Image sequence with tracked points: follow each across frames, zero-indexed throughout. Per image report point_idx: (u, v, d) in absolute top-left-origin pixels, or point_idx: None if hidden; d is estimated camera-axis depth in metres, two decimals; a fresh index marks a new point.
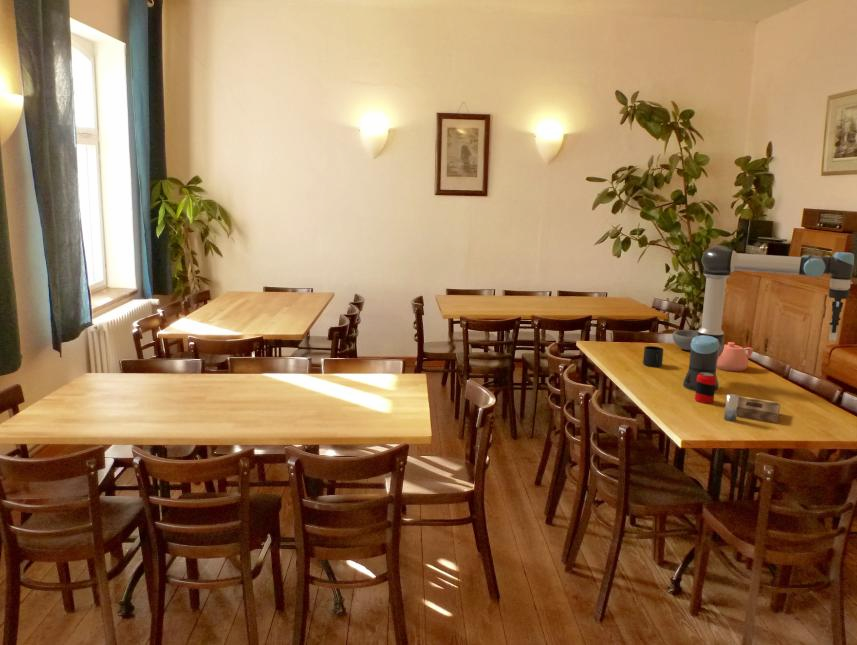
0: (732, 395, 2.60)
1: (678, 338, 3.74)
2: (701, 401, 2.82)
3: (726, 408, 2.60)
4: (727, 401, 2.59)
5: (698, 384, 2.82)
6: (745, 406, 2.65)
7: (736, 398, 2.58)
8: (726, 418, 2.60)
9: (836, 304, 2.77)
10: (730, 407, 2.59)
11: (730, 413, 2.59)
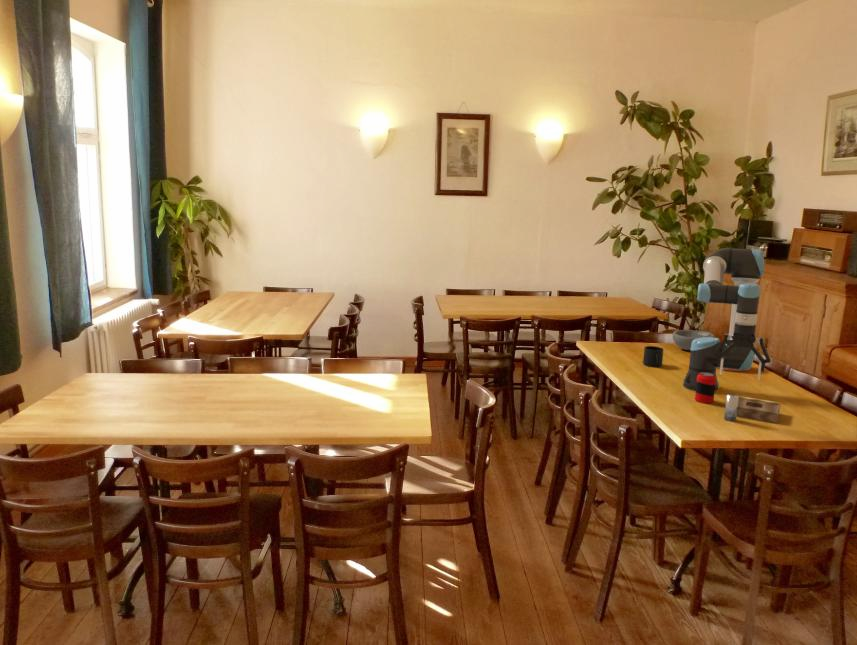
0: (732, 395, 2.60)
1: (678, 338, 3.74)
2: (701, 401, 2.82)
3: (726, 408, 2.60)
4: (727, 401, 2.59)
5: (698, 384, 2.82)
6: (745, 406, 2.65)
7: (736, 398, 2.58)
8: (726, 418, 2.60)
9: (724, 336, 2.60)
10: (730, 407, 2.59)
11: (730, 413, 2.59)
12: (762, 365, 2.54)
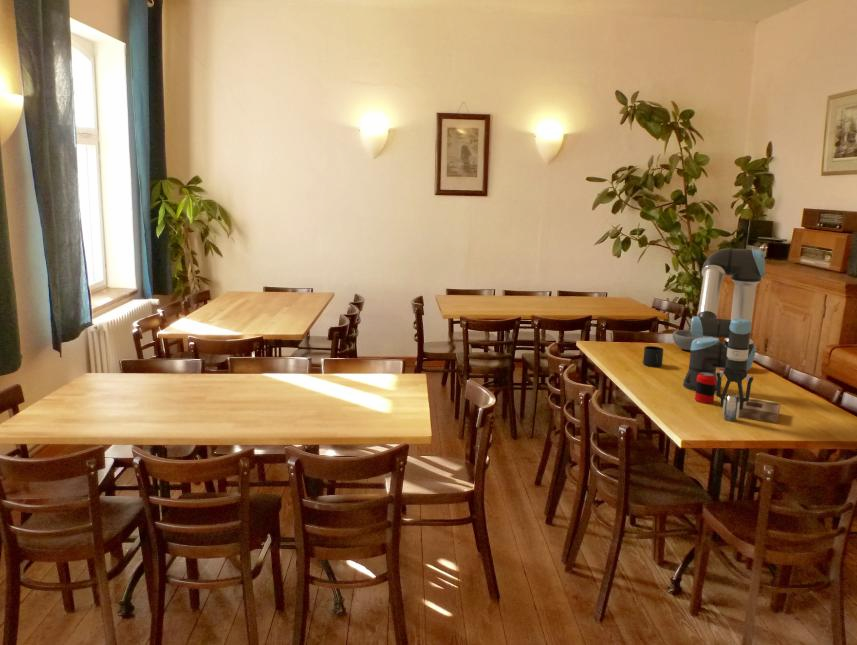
0: (732, 395, 2.60)
1: (678, 338, 3.74)
2: (701, 401, 2.82)
3: (726, 408, 2.60)
4: (727, 401, 2.59)
5: (698, 384, 2.82)
6: (745, 406, 2.65)
7: (736, 398, 2.58)
8: (726, 418, 2.60)
9: None
10: (730, 407, 2.59)
11: (730, 412, 2.59)
12: (740, 403, 2.58)
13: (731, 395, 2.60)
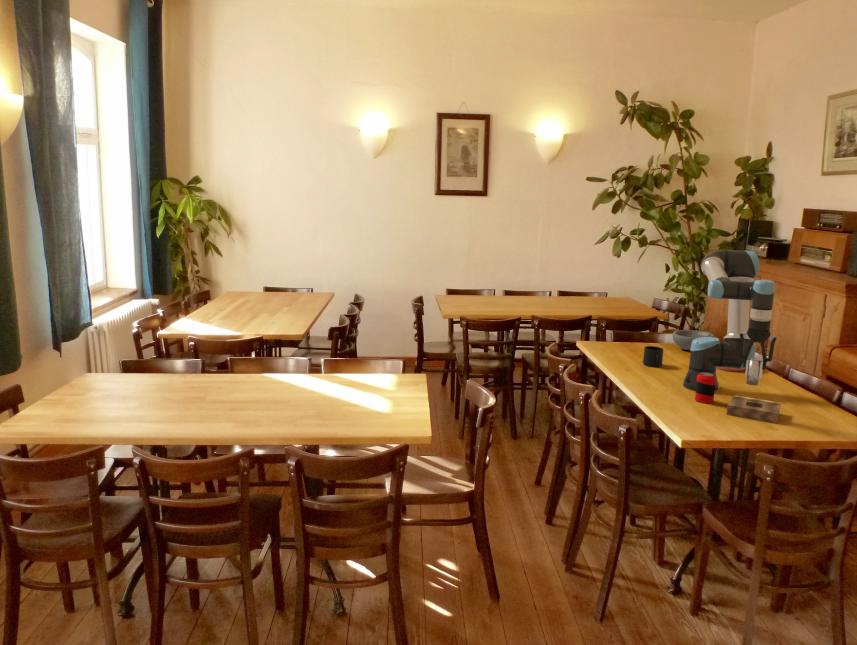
0: (754, 359, 2.63)
1: (678, 338, 3.74)
2: (701, 401, 2.82)
3: (749, 372, 2.64)
4: (749, 365, 2.63)
5: (698, 384, 2.82)
6: (745, 406, 2.65)
7: (759, 362, 2.61)
8: (748, 382, 2.64)
9: None
10: (752, 371, 2.62)
11: (752, 377, 2.63)
12: (763, 364, 2.61)
13: (754, 359, 2.63)
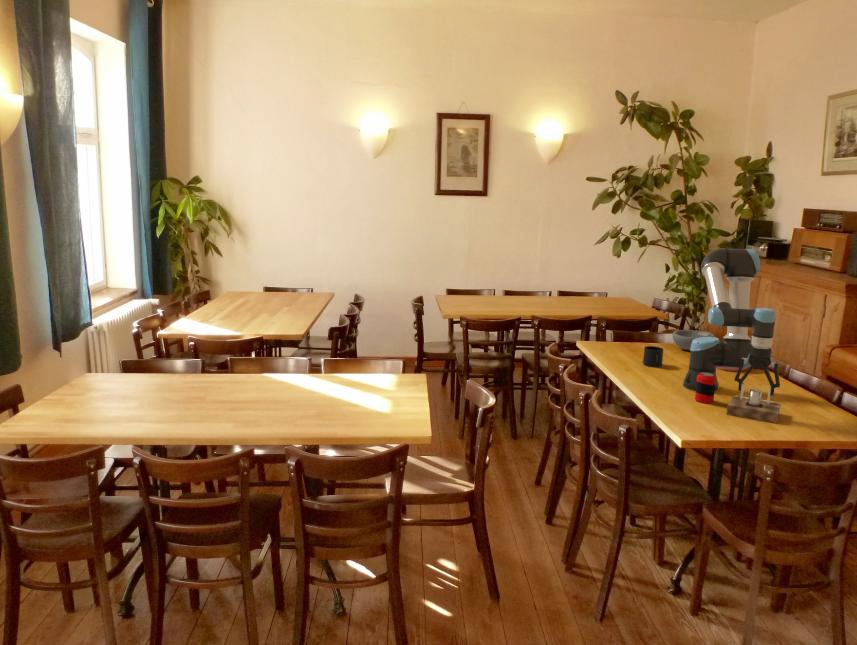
0: (755, 390, 2.67)
1: (678, 338, 3.74)
2: (701, 401, 2.82)
3: (749, 403, 2.67)
4: (750, 396, 2.67)
5: (698, 384, 2.82)
6: (745, 406, 2.65)
7: (759, 393, 2.65)
8: None
9: None
10: (753, 402, 2.66)
11: None
12: (771, 389, 2.63)
13: (754, 390, 2.67)
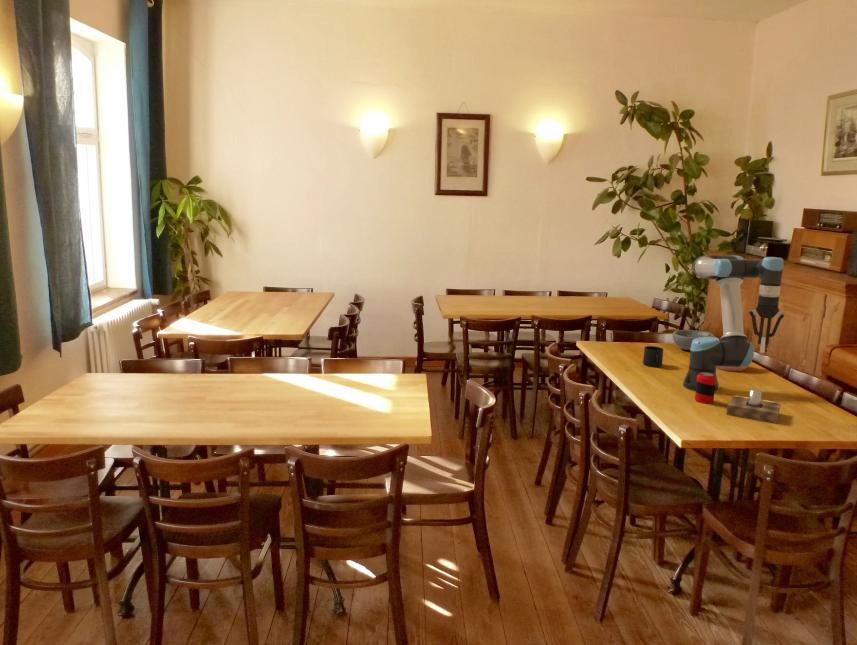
0: (755, 390, 2.67)
1: (678, 338, 3.74)
2: (701, 401, 2.82)
3: (750, 403, 2.67)
4: (750, 396, 2.67)
5: (698, 384, 2.82)
6: (745, 406, 2.65)
7: (759, 393, 2.65)
8: None
9: None
10: (753, 402, 2.66)
11: None
12: (766, 339, 2.68)
13: (754, 390, 2.67)
